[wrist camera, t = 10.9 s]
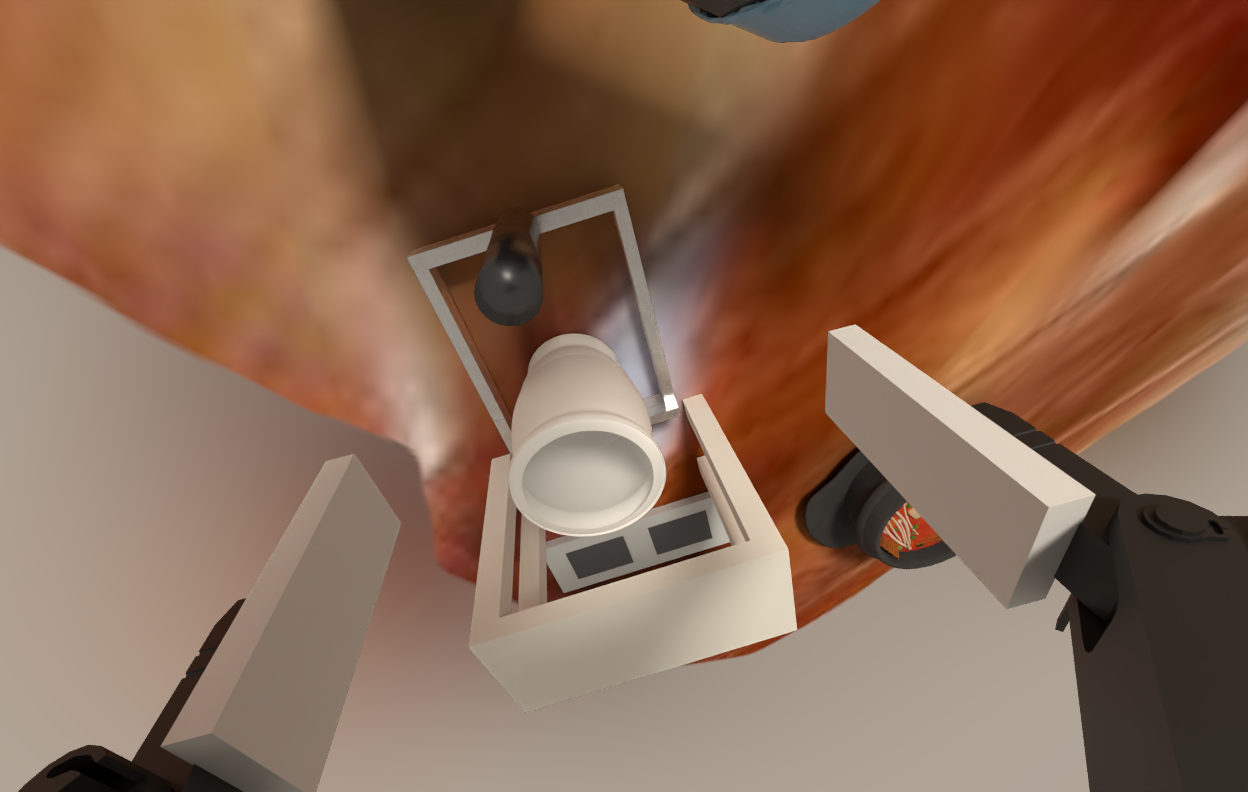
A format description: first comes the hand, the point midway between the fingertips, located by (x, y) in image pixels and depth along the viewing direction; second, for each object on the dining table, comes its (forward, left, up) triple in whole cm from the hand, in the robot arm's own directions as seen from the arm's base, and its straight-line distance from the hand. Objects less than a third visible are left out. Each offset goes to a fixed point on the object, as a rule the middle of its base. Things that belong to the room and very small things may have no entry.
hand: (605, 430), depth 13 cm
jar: (+13, -3, -28) cm, 31 cm away
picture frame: (+8, -3, -27) cm, 28 cm away
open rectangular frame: (+31, -3, -28) cm, 42 cm away
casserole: (+40, +29, -28) cm, 57 cm away
